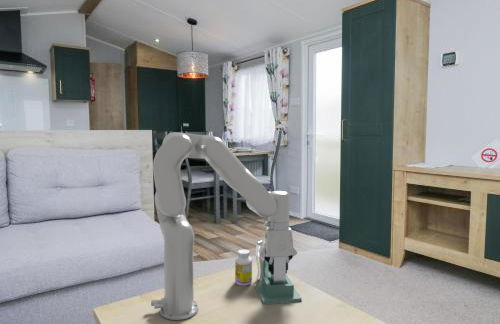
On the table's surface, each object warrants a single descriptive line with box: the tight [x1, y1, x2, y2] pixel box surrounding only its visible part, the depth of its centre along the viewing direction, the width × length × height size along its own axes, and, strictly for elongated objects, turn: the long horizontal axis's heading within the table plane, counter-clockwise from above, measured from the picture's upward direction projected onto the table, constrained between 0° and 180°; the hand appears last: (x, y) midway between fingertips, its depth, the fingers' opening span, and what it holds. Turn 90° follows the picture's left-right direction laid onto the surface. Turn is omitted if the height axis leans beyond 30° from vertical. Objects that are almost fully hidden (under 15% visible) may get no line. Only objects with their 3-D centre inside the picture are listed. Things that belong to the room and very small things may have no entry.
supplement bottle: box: [234, 249, 253, 287], centre depth 142 cm, size 7×7×13 cm
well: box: [254, 274, 303, 305], centre depth 134 cm, size 14×14×5 cm
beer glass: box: [255, 240, 271, 283], centre depth 145 cm, size 7×7×15 cm
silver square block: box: [271, 256, 287, 285], centre depth 133 cm, size 4×4×13 cm
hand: (278, 272), depth 133 cm, fingers closed on silver square block, 4 cm apart
